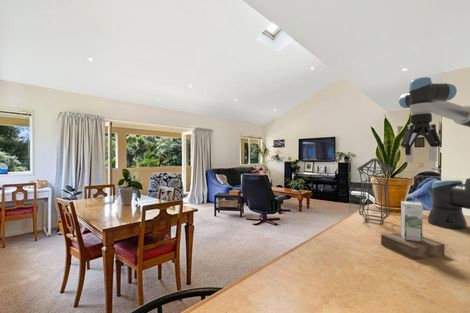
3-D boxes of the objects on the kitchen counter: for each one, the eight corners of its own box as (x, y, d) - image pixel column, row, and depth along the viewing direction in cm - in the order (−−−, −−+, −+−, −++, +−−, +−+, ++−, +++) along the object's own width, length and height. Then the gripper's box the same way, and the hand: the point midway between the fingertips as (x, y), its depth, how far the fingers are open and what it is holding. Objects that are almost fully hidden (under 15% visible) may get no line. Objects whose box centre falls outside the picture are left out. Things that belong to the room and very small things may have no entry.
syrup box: (418, 237, 92) (418, 201, 92) (422, 242, 87) (422, 204, 87) (400, 235, 94) (400, 200, 94) (404, 240, 89) (404, 203, 89)
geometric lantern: (392, 221, 128) (393, 158, 127) (388, 228, 116) (389, 159, 115) (361, 215, 138) (361, 157, 137) (354, 222, 127) (355, 158, 125)
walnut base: (408, 241, 99) (408, 231, 99) (444, 255, 85) (444, 244, 85) (381, 244, 96) (381, 234, 96) (414, 259, 82) (414, 248, 82)
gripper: (432, 115, 109) (433, 160, 110) (390, 115, 103) (391, 162, 103) (451, 112, 102) (451, 161, 102) (407, 112, 96) (408, 163, 96)
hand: (421, 162), depth 103 cm, fingers open, 13 cm apart
